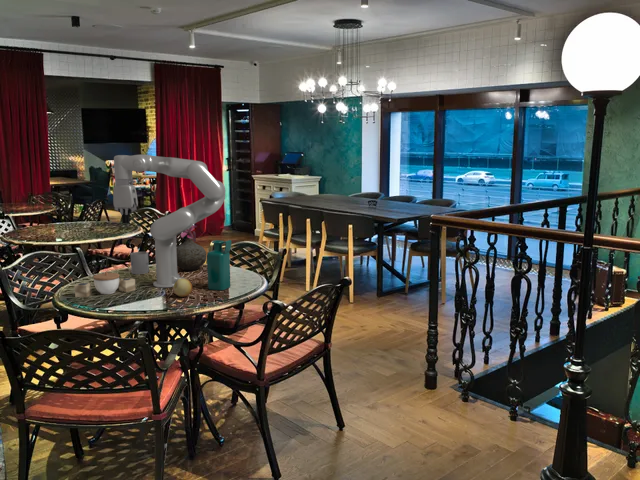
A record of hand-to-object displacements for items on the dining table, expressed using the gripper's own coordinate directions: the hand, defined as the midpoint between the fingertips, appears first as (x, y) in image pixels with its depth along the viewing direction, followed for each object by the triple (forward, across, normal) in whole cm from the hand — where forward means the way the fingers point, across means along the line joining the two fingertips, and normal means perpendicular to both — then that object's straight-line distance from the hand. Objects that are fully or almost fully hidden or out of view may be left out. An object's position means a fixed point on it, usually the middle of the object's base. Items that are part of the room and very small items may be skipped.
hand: (126, 223), depth 265 cm
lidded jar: (+29, +2, +14) cm, 33 cm away
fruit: (+29, -34, +12) cm, 46 cm away
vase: (+29, -10, -39) cm, 50 cm away
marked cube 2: (+29, -4, +8) cm, 31 cm away
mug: (+29, +12, -28) cm, 42 cm away
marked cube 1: (+29, +9, +21) cm, 37 cm away
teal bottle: (+29, -43, -6) cm, 52 cm away
